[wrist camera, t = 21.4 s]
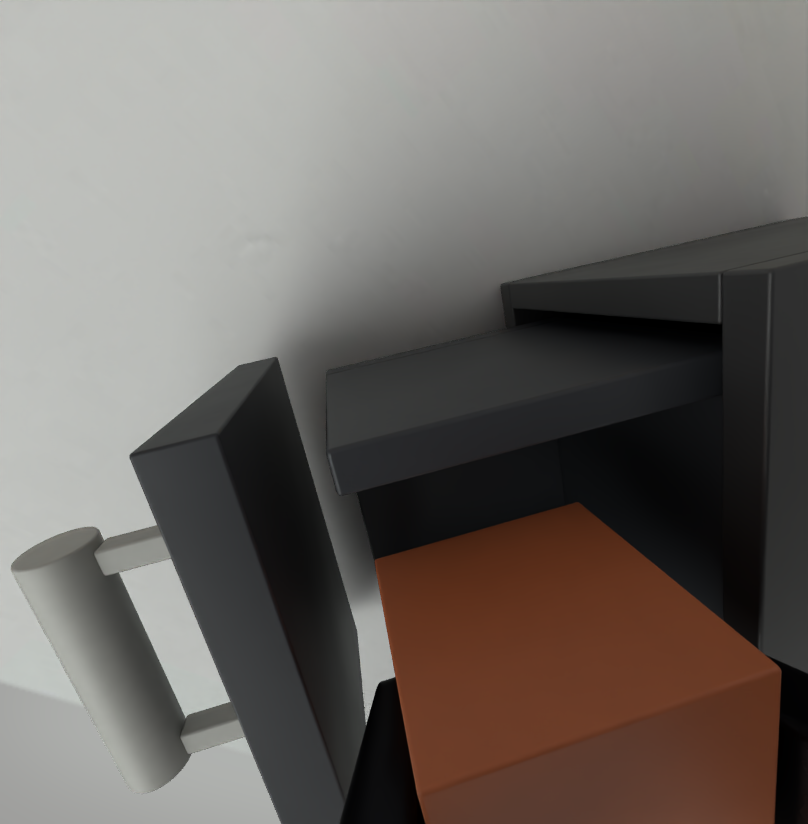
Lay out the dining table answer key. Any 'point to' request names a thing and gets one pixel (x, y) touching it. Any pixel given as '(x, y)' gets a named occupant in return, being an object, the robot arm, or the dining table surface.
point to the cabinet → (727, 395)
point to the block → (573, 683)
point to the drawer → (371, 526)
